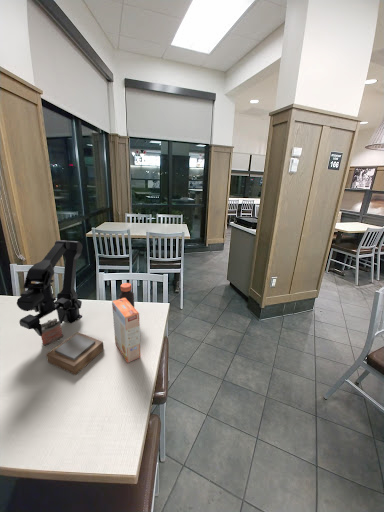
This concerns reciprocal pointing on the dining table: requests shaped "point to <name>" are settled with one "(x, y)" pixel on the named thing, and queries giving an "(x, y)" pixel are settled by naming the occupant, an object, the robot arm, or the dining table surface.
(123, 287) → the bottle
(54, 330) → the lighter
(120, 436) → the dining table surface
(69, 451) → the dining table surface
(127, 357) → the cracker box
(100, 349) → the walnut base
